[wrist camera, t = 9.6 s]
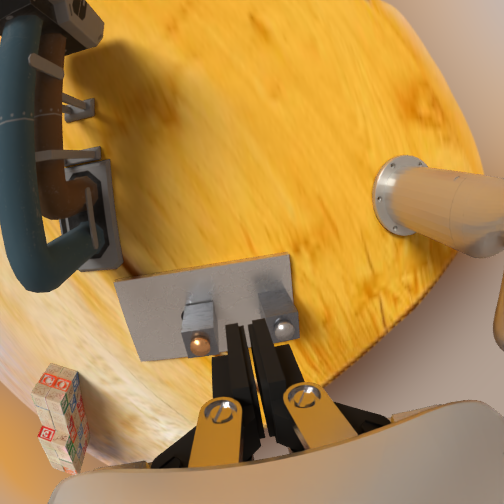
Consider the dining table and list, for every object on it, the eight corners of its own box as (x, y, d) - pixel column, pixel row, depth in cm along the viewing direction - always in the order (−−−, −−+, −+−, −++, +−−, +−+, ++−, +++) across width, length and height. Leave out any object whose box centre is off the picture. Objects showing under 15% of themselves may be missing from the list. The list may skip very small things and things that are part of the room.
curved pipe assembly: (125, 268, 40) (64, 356, 20) (73, 272, 39) (-4, 350, 19) (110, 30, 30) (47, -44, 9) (58, 46, 29) (-24, -4, 8)
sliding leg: (212, 301, 42) (213, 332, 34) (217, 325, 43) (219, 358, 35) (184, 306, 41) (180, 336, 34) (191, 329, 42) (188, 362, 35)
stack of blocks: (49, 361, 43) (23, 404, 32) (78, 370, 44) (55, 416, 33) (66, 429, 49) (52, 468, 37) (91, 437, 50) (78, 477, 38)
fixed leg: (285, 288, 43) (300, 315, 35) (287, 312, 44) (301, 342, 36) (257, 293, 42) (267, 321, 35) (260, 317, 44) (270, 348, 36)
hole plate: (286, 251, 42) (289, 254, 41) (294, 334, 47) (295, 338, 45) (115, 279, 40) (113, 282, 39) (142, 357, 45) (141, 361, 43)
